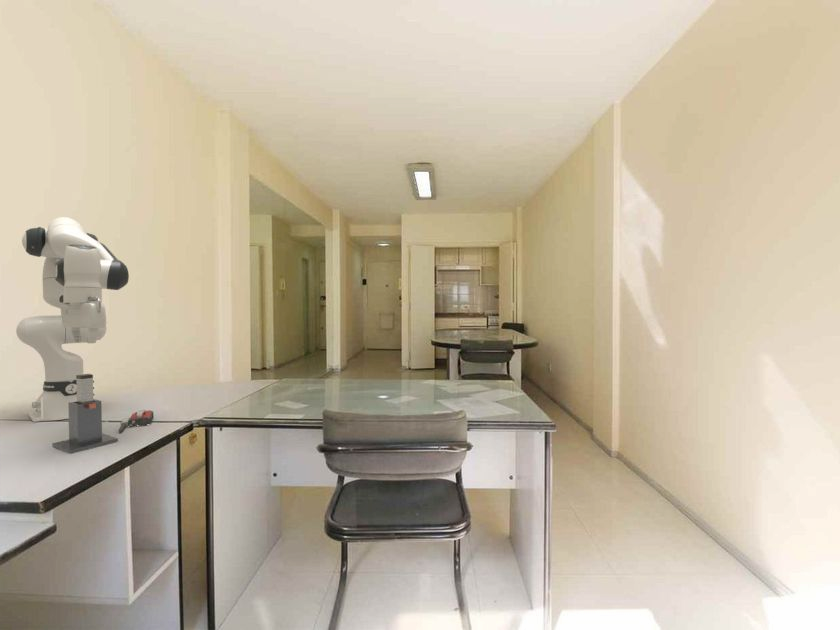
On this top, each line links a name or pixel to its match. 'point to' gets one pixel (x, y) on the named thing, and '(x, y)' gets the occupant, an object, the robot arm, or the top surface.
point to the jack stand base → (84, 428)
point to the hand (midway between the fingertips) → (84, 342)
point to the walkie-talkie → (137, 419)
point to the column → (84, 388)
